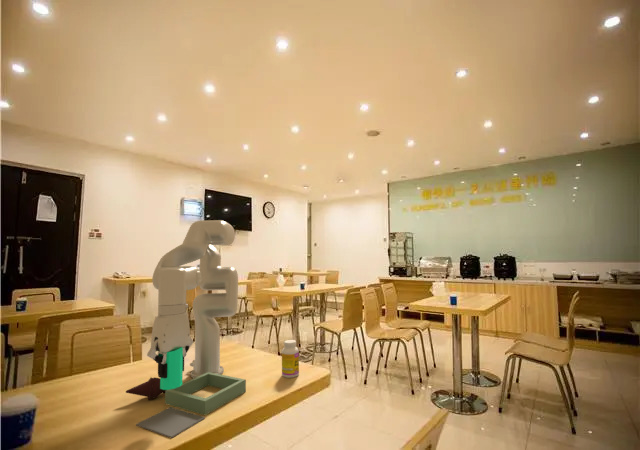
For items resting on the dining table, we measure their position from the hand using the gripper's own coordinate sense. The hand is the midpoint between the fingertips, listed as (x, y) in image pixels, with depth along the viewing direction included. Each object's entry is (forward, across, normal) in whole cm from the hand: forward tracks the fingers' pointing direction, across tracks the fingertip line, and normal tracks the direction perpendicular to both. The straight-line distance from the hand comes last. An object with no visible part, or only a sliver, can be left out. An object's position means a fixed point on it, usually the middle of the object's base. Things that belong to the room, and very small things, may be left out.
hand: (171, 373), depth 94 cm
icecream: (+14, -8, -20) cm, 25 cm away
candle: (+4, 0, 0) cm, 4 cm away
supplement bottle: (+13, -44, +12) cm, 48 cm away
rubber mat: (+13, 0, 0) cm, 13 cm away
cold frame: (+13, -16, -3) cm, 21 cm away
